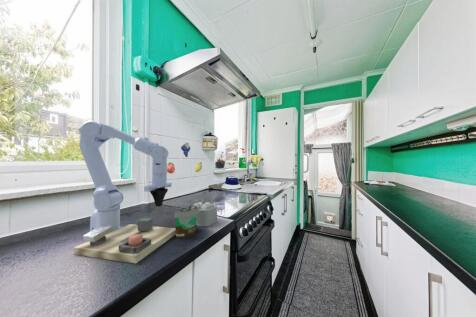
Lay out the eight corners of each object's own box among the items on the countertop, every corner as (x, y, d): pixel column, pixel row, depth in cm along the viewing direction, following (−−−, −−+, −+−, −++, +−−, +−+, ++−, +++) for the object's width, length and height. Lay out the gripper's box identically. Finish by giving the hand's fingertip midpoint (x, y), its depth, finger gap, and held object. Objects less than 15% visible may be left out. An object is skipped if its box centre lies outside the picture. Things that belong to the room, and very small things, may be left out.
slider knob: (137, 230, 62) (137, 220, 62) (143, 227, 65) (143, 217, 65) (146, 231, 61) (147, 221, 62) (152, 228, 64) (152, 218, 64)
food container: (189, 241, 58) (189, 213, 59) (173, 240, 59) (174, 212, 60) (203, 228, 70) (203, 204, 71) (190, 227, 72) (190, 204, 72)
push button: (125, 248, 49) (125, 238, 49) (135, 243, 52) (135, 233, 52) (135, 250, 48) (136, 239, 48) (145, 244, 52) (145, 234, 52)
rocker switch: (83, 240, 51) (82, 235, 50) (102, 229, 56) (102, 225, 56) (94, 242, 50) (93, 237, 50) (112, 230, 56) (112, 226, 55)
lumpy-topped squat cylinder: (205, 228, 71) (205, 207, 71) (184, 222, 77) (184, 204, 78) (219, 220, 80) (219, 202, 80) (199, 216, 86) (199, 199, 87)
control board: (73, 254, 50) (73, 242, 50) (129, 228, 69) (129, 220, 69) (135, 263, 45) (136, 250, 45) (176, 233, 65) (177, 224, 65)
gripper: (155, 175, 63) (154, 211, 62) (177, 173, 77) (176, 202, 77) (139, 174, 64) (139, 210, 64) (164, 173, 78) (163, 201, 78)
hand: (158, 206), depth 70 cm, fingers closed
